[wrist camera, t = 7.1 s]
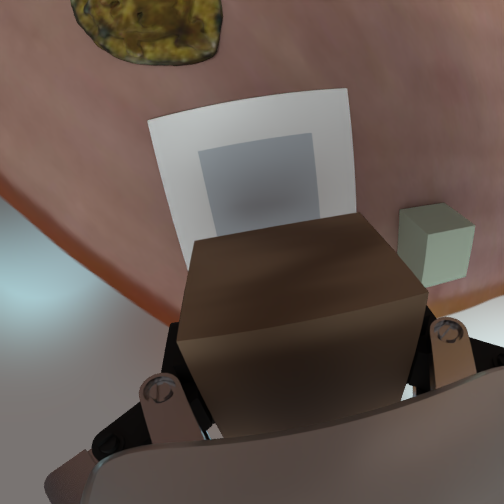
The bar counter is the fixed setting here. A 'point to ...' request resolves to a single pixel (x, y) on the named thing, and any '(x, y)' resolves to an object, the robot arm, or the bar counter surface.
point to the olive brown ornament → (153, 29)
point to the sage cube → (435, 243)
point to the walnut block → (299, 324)
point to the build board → (256, 163)
